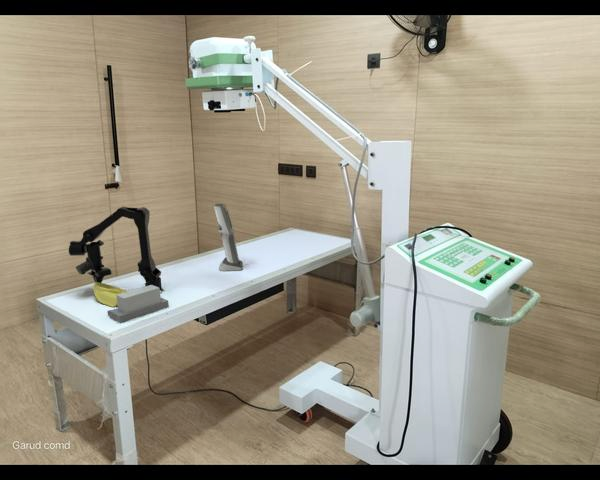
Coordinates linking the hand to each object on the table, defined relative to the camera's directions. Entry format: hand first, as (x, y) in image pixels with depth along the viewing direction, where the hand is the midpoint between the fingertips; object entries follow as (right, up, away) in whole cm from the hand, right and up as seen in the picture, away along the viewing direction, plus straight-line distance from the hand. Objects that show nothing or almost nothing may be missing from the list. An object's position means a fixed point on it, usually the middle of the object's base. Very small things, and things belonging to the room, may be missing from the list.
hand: (98, 286), depth 225 cm
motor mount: (+27, -8, -23) cm, 36 cm away
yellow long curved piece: (+11, -5, -9) cm, 15 cm away
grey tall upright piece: (+58, +7, +34) cm, 68 cm away
